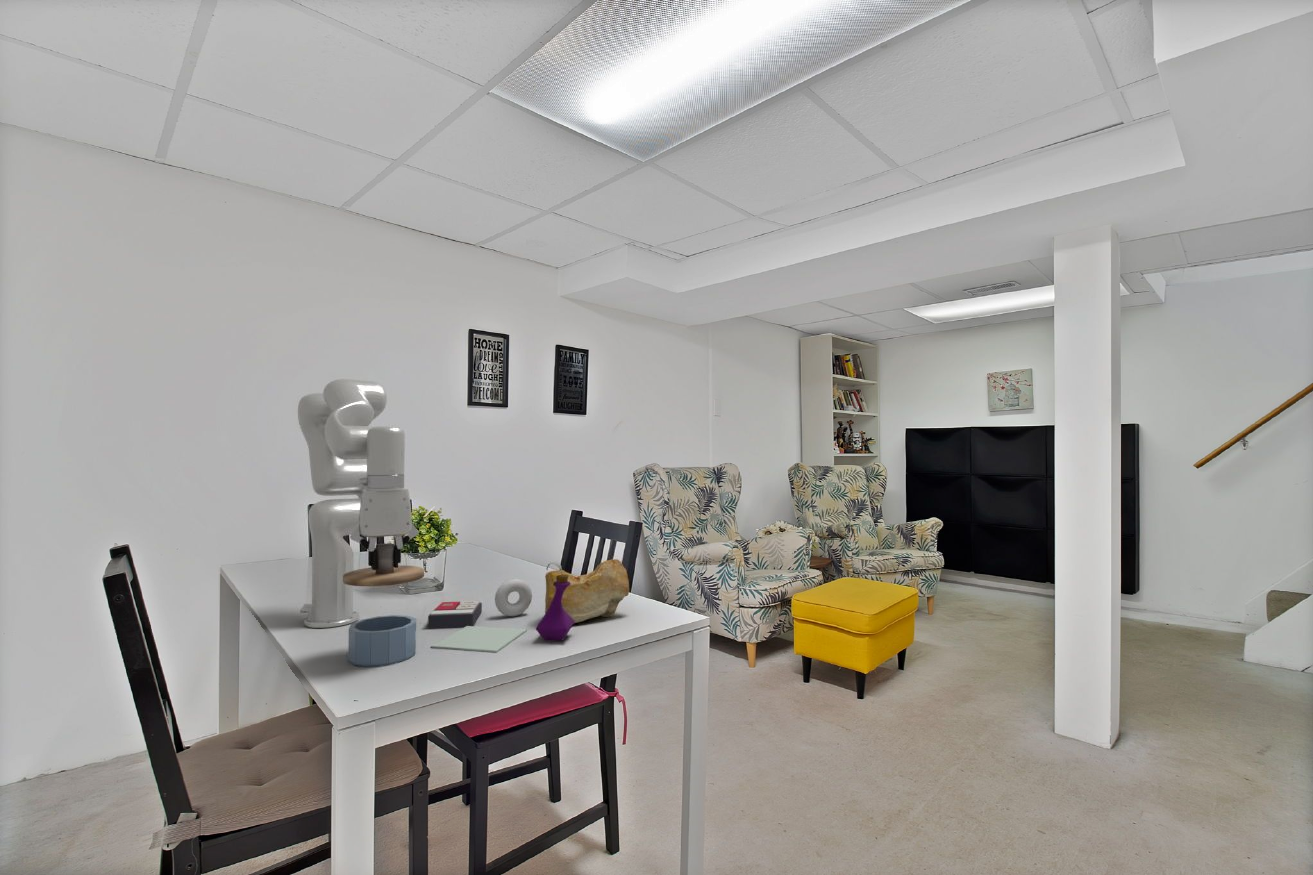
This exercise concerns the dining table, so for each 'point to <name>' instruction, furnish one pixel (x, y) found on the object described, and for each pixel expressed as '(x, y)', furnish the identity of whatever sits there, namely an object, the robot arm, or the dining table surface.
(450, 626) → the flat rectangular box
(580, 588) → the rough brown rock
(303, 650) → the dining table surface
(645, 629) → the dining table surface
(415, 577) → the lid
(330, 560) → the robot arm
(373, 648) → the bowl
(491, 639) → the mat
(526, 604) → the donut
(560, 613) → the perfume bottle
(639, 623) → the dining table surface
